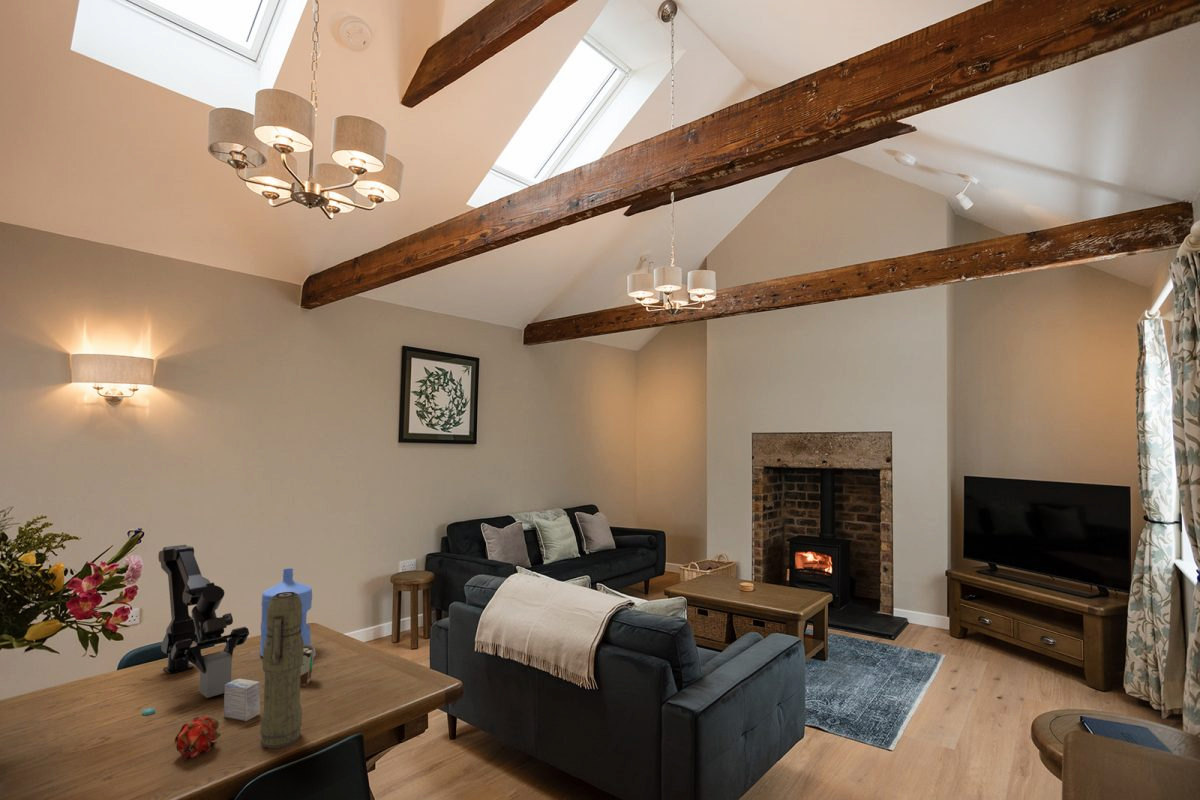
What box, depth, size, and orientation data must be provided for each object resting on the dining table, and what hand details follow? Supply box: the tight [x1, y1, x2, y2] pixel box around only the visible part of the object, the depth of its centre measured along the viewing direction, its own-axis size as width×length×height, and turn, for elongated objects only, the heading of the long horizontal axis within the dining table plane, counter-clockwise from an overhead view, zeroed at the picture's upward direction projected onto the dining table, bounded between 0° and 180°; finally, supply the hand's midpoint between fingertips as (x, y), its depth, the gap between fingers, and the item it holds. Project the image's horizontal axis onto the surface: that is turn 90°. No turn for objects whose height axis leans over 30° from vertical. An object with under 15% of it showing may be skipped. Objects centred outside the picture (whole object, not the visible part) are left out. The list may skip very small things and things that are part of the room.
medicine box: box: [223, 678, 261, 722], centre depth 162 cm, size 8×4×9 cm, turn 71°
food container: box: [300, 644, 317, 685], centre depth 185 cm, size 12×6×10 cm, turn 84°
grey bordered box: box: [199, 650, 233, 699], centre depth 174 cm, size 6×6×10 cm
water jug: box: [259, 568, 313, 658], centre depth 210 cm, size 16×16×28 cm
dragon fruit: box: [174, 714, 221, 761], centre depth 142 cm, size 8×8×12 cm
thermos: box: [259, 592, 304, 749], centre depth 150 cm, size 9×12×35 cm
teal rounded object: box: [141, 707, 156, 716], centre depth 163 cm, size 3×3×1 cm
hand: (217, 669), depth 173 cm, fingers closed on grey bordered box, 6 cm apart
